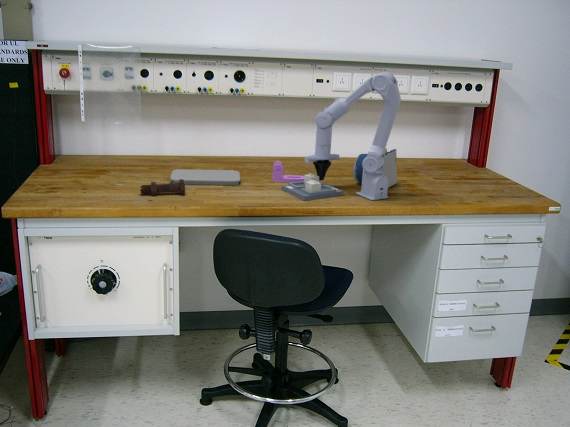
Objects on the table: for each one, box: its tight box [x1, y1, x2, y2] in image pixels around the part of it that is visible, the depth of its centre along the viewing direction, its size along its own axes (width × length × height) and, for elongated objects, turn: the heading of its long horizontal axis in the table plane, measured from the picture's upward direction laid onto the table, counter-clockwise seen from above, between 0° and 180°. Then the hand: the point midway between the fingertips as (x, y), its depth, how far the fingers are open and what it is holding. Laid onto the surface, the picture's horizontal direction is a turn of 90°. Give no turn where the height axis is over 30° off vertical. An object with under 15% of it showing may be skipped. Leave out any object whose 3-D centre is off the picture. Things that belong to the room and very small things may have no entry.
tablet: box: [170, 168, 241, 186], centre depth 218 cm, size 16×26×2 cm, turn 97°
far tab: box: [303, 172, 320, 184], centre depth 212 cm, size 4×4×4 cm
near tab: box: [305, 180, 321, 192], centre depth 203 cm, size 4×4×4 cm
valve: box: [351, 148, 398, 189], centre depth 221 cm, size 13×15×15 cm
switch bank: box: [280, 180, 344, 202], centre depth 208 cm, size 15×17×2 cm
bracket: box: [272, 160, 304, 183], centre depth 222 cm, size 13×6×7 cm, turn 93°
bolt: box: [139, 179, 186, 196], centre depth 197 cm, size 6×5×15 cm
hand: (320, 179), depth 214 cm, fingers closed
